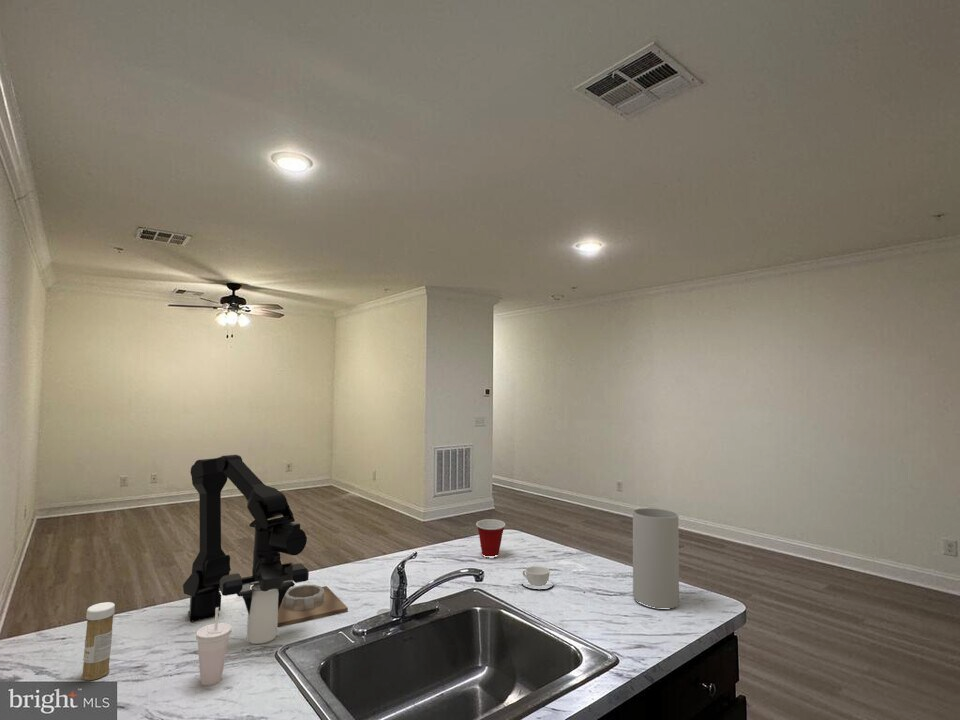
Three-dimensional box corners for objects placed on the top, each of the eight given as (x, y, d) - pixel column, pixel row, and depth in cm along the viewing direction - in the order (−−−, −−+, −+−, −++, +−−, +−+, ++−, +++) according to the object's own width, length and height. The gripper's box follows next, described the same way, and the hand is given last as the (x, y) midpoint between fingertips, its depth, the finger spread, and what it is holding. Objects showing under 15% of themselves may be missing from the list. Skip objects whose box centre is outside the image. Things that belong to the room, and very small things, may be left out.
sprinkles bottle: (78, 675, 100) (84, 606, 101) (106, 666, 104) (111, 599, 105) (84, 684, 97) (90, 612, 98) (112, 674, 101) (118, 605, 102)
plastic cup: (472, 559, 178) (473, 525, 179) (477, 551, 188) (478, 518, 189) (503, 562, 176) (503, 527, 177) (506, 553, 187) (507, 520, 188)
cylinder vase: (664, 614, 135) (664, 520, 137) (624, 600, 145) (624, 511, 147) (687, 603, 144) (686, 514, 145) (647, 590, 153) (647, 506, 155)
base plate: (276, 627, 123) (276, 623, 123) (260, 602, 138) (261, 598, 138) (347, 611, 133) (347, 607, 133) (326, 589, 148) (326, 586, 148)
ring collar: (289, 613, 128) (289, 601, 129) (279, 600, 137) (280, 589, 137) (328, 605, 134) (328, 594, 134) (316, 593, 142) (317, 582, 142)
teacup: (558, 584, 157) (558, 568, 157) (545, 594, 148) (545, 578, 149) (530, 577, 162) (530, 562, 162) (515, 586, 154) (515, 571, 154)
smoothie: (204, 693, 95) (208, 616, 96) (185, 682, 99) (190, 608, 100) (235, 677, 101) (239, 605, 102) (217, 668, 104) (221, 598, 105)
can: (265, 646, 113) (268, 592, 114) (240, 643, 115) (243, 589, 116) (282, 633, 120) (284, 581, 121) (258, 630, 121) (260, 579, 122)
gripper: (228, 564, 107) (224, 640, 106) (316, 550, 117) (313, 619, 116) (221, 550, 116) (217, 620, 115) (303, 539, 127) (300, 603, 125)
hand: (263, 616), depth 118 cm, fingers closed on can, 5 cm apart
